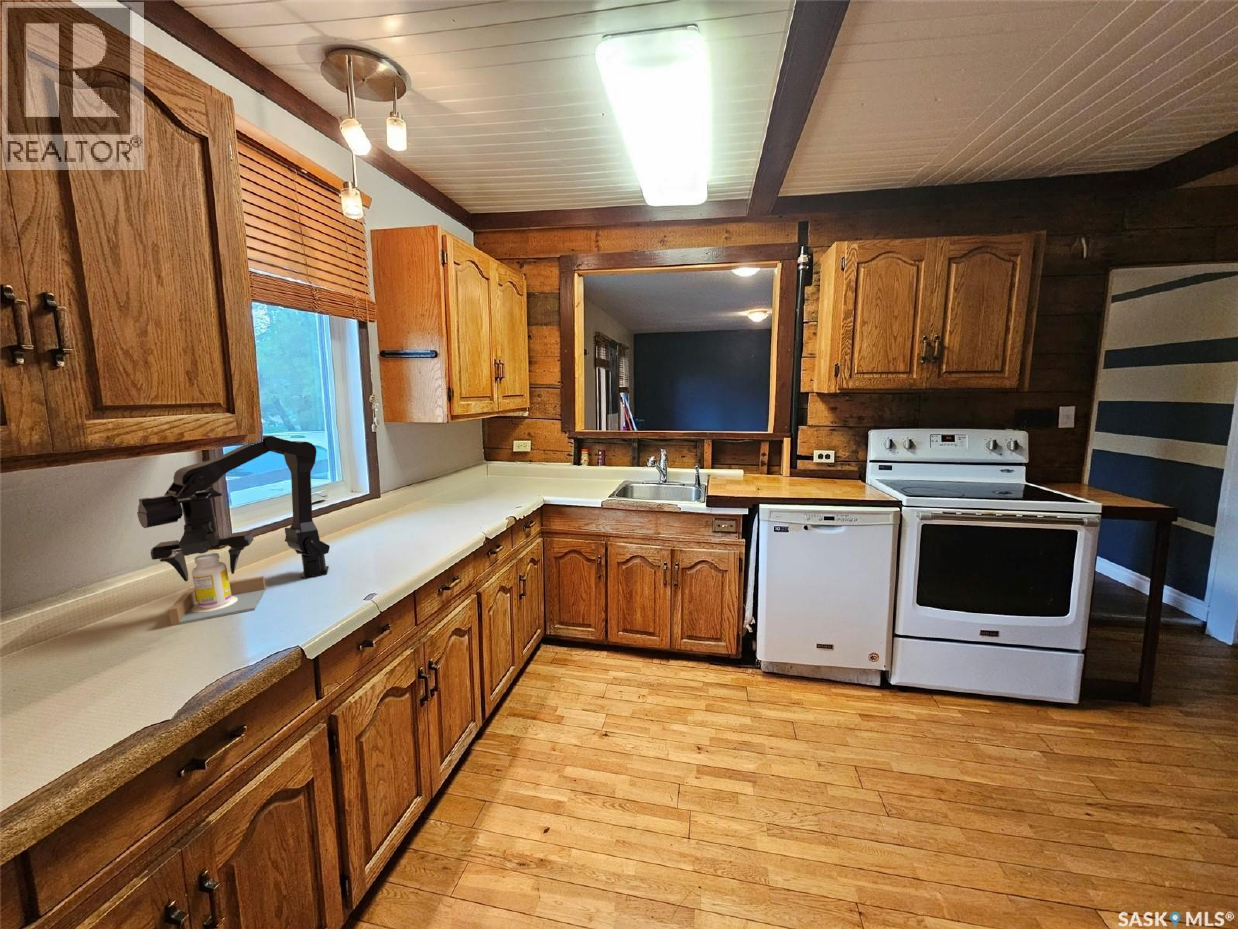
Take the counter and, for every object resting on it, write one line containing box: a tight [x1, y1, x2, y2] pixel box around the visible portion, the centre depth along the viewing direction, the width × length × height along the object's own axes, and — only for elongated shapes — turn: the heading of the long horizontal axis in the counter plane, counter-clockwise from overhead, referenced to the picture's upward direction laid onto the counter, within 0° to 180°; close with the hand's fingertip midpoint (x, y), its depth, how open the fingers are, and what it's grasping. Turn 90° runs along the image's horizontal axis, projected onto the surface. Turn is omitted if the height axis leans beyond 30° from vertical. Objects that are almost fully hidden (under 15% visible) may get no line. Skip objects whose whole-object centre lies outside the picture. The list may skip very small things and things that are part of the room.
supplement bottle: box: [191, 552, 232, 609], centre depth 121 cm, size 7×7×13 cm
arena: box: [168, 575, 267, 627], centre depth 122 cm, size 14×16×4 cm
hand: (210, 577), depth 120 cm, fingers open, 9 cm apart
